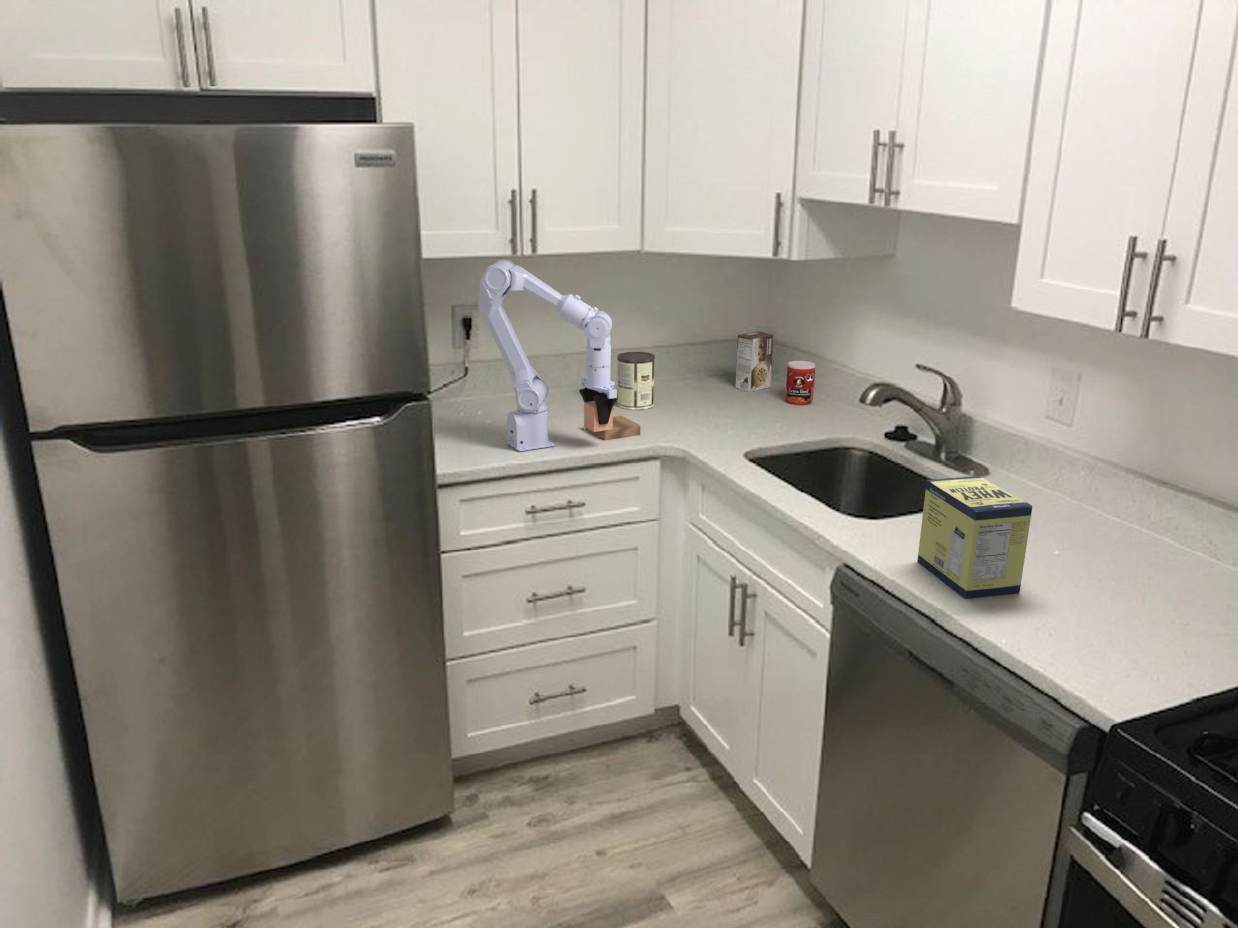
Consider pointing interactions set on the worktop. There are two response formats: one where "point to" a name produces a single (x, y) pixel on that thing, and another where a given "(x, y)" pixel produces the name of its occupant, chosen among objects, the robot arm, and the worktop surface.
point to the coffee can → (635, 380)
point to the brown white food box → (754, 361)
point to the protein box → (974, 536)
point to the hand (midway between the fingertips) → (598, 421)
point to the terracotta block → (595, 418)
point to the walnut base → (619, 429)
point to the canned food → (800, 382)
